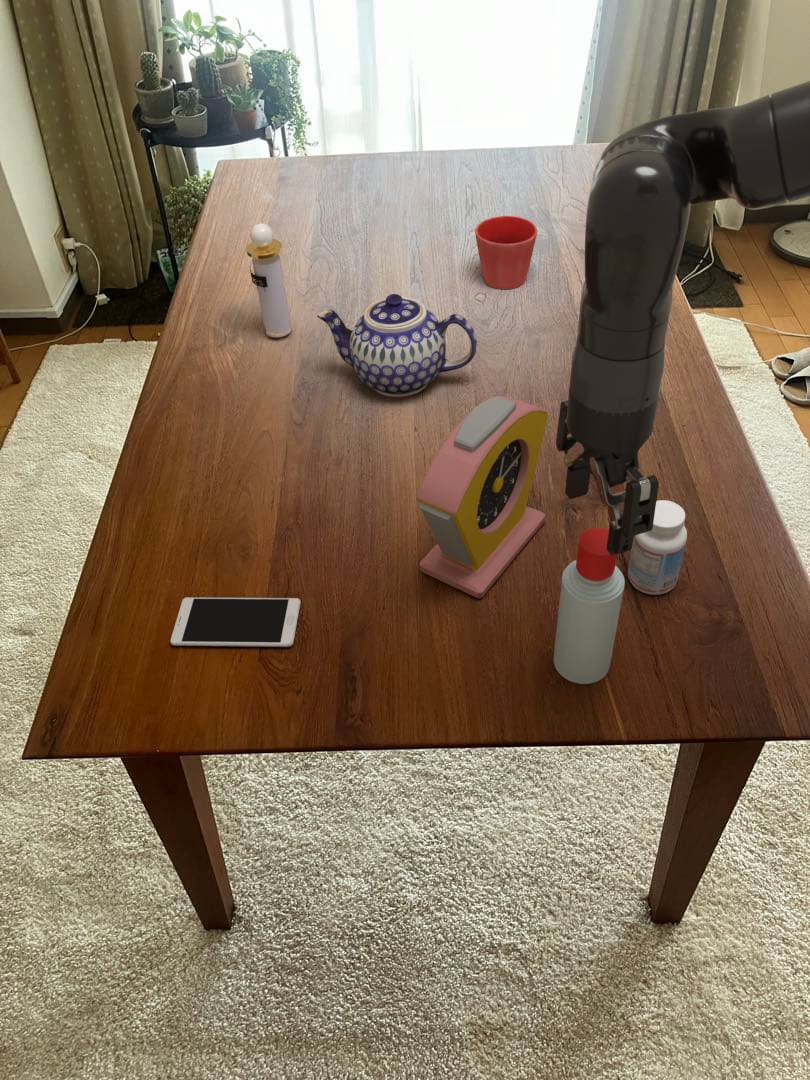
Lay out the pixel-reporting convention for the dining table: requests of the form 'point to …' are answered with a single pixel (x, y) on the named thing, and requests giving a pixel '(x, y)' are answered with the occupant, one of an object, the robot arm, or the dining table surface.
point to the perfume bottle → (269, 279)
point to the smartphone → (236, 622)
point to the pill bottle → (659, 551)
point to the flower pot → (505, 250)
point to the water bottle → (587, 625)
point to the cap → (595, 555)
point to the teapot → (397, 345)
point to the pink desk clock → (482, 494)
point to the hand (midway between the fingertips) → (596, 522)
